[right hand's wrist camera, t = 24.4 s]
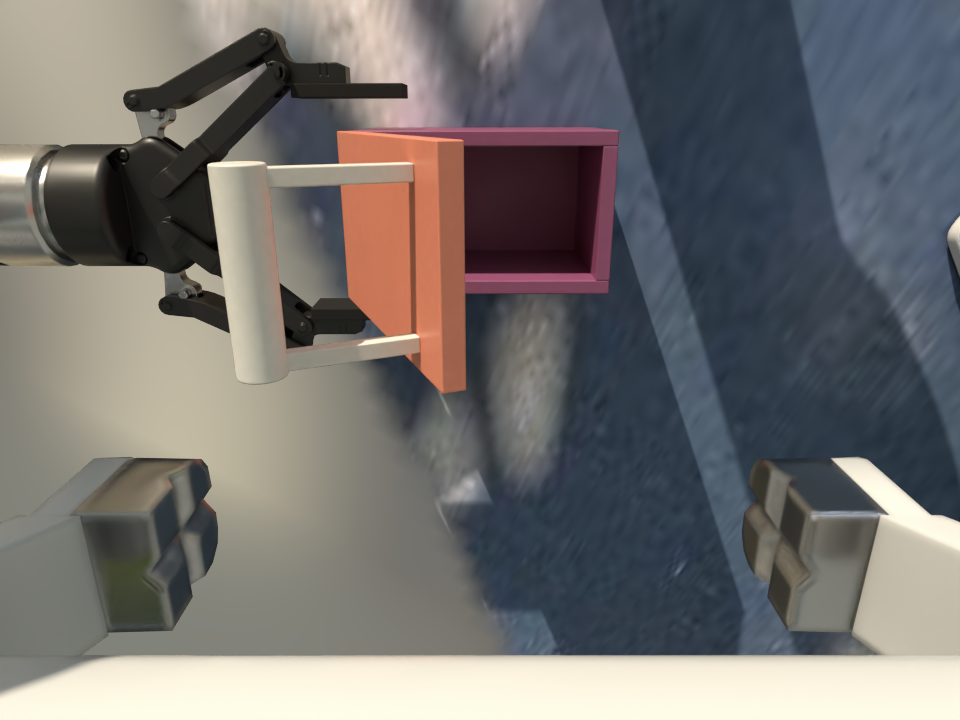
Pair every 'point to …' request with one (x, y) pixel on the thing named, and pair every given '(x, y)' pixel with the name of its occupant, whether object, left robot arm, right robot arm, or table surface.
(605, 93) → the table surface
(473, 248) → the chest
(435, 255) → the lid
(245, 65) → the left robot arm
